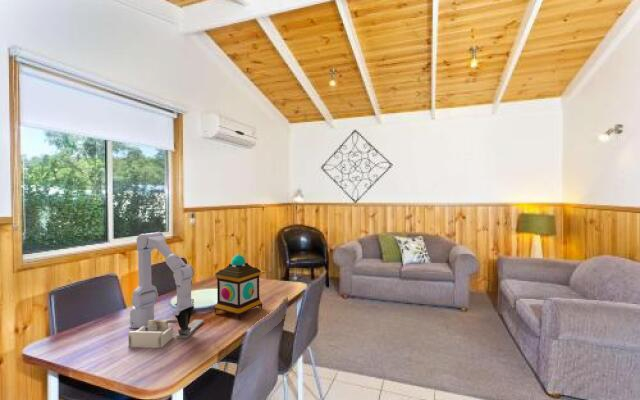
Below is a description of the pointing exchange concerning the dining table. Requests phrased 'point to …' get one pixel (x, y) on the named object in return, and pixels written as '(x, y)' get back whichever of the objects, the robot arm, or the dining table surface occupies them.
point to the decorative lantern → (238, 287)
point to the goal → (149, 338)
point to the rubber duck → (153, 327)
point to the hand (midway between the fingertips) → (184, 325)
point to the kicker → (163, 325)
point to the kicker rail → (193, 325)
